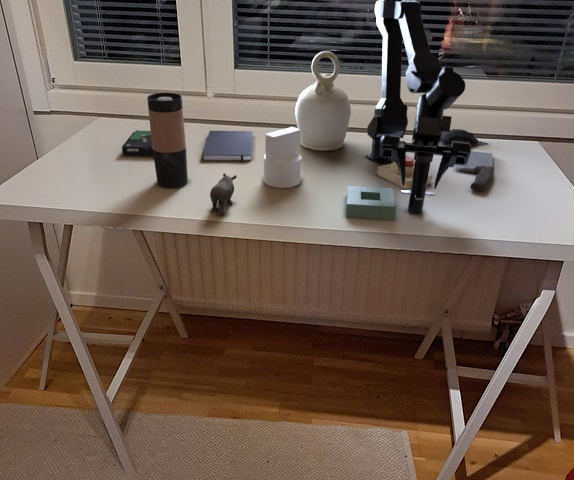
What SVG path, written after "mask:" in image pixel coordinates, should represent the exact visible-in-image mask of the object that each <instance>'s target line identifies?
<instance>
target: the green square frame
mask: <svg viewBox="0 0 574 480" xmlns="http://www.w3.org/2000/svg"><path fill="white" fill-rule="evenodd" d="M345 203H346V206H345V208H346V209H345V217H347V218H361V219H362V218H363V219H375V220H391V221H394V220H395V213H396V200H395V193H394V188H392V187H374V186H373V187H372V186H359V185H358V186H357V185H347V188H346V202H345Z"/></svg>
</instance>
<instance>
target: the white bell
mask: <svg viewBox="0 0 574 480" xmlns="http://www.w3.org/2000/svg"><path fill="white" fill-rule="evenodd" d="M323 58H328V59H330V60H331V62H332V63H333V73H332V74H331V73H323V74H321V73H320V72H319V70H318V64H319V62H320V60H321V59H323ZM340 70H341V64H340V60H339V58H338V57H337V56H336V54H334V53H333V52H332V51H330V50H322V51H319V52H318V53H317V54H316V55H315V56H314V58H313V59H312V62H311V73H312V75H313V77H314V78H315V79H316V80H315V83H313V84H311V85H309V86H308V87H307V88H305V89H304V90H303V91H302V92H301V93H300V95H299V97H298V98H297V101H296V104H295V120H296V128H297V129H300V146H302V147H304V148H306V149H308V150H312V151H319V152H330V151H335V150H339V149H340V148H341V149H342V147H343V145H344V142H345V139H346V136H347V132H348V129H349V123H350V120H351V116H352V115H351V113H352V112H351V111H352V110H351V102H350V100H349V96H348V95H347V93H345V92H344V90H343V89H342V88H340V87H339V86H337V85H335V84H334V82H335V80H336V79H337V78H338V76H339V75H340Z"/></svg>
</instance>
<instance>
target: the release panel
mask: <svg viewBox="0 0 574 480" xmlns="http://www.w3.org/2000/svg"><path fill="white" fill-rule="evenodd" d="M414 165H415V160H414V164H413V166H412V167H406V172H405V183H404V185H402V181H401V177H400V172H399V169H398V167H397V164H396V162H394V161H393V162H391V163H387V164H382V165H379V166H377V176H380V177H381V178H383V179H385V180H387V181H389V182H391V183H392V184H395V185H397V186H398V187H400V188H402V189H403V190H411V184H412V178H413V171H414ZM432 179H433V174H431V173H429V175H428V181H427V185H431V184H432Z"/></svg>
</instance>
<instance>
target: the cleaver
mask: <svg viewBox="0 0 574 480" xmlns="http://www.w3.org/2000/svg"><path fill="white" fill-rule="evenodd" d="M454 169H455V170H458V171H462V172H473V173H474V174H476V175H475V178H474V181H473V182H472V183H471V184H470V190H471V191H475V192H484V191H485V190H486V189H487V188H488V187H489V186H490V184H491V182H492V180H493V177H494V173H495V168H494V156H493V153H492V152H484V151H474V150H471V154H470V157H469V159H468V162H467V164H466V165H456V164H455V165H454Z"/></svg>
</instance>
